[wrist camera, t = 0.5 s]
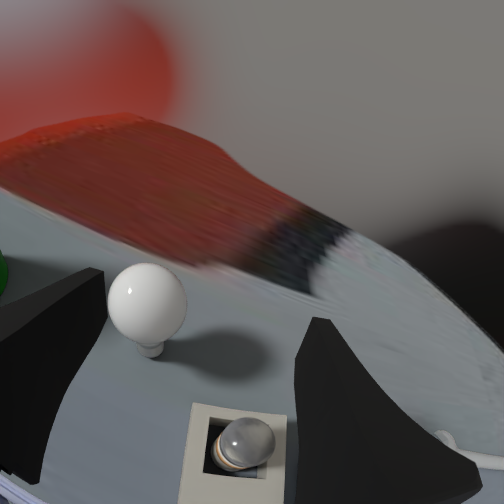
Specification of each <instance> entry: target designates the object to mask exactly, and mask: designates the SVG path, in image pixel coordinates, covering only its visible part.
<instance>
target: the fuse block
mask: <svg viewBox="0 0 504 504" xmlns="http://www.w3.org/2000/svg"><path fill="white" fill-rule="evenodd" d="M243 417H252V418H256V419H259V420H261V421H263V422H264V423H266V424H267V425H268V426H269V427H270V428H271V430H272V431H273V433H274V436H275V440H276V445H275V450H274V452H273V454H272V456H271V457H270V458H269V459H268V460H267V461H266V462H264V463H262V464H260V465H258V469H257V479H253V478H240V477H230V476H221V475H213V474H206V473H203V465H204V457H205V449H206V441H207V434H208V426H209V425H215V426H221V427H227V426H228V425H229V424H230V423H231V422H233V421H234V420H236V419H239V418H243ZM286 426H287V415H276V414H266V413H257V412H249V411H242V410H235V409H228V408H222V407H216V406H210V405H205V404H199V403H194V402H193V405H192V409H191V414H190V420H189V426H188V432H187V439H186V445H185V452H184V459H183V466H182V473H181V480H180V487H179V494H178V502H177V504H283V501H284V481H285V458H286Z"/></svg>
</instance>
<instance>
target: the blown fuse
mask: <svg viewBox="0 0 504 504" xmlns="http://www.w3.org/2000/svg"><path fill="white" fill-rule="evenodd" d="M275 445H276V440H275V436H274V433H273V431H272V430H271V428H270V427H269V426H268V425H267V424H266V423H264V422H263V421H261V420H259V419H256V418H252V417H243V418H239V419H236V420H234V421H233V422H231V423H230V424H229V425H228V426H227V427H226V428H225V429H224V431H223V432H222V433H221V434H220V436H219V437H217V438H216V439H215V441H214V442H213V443H212V445H211V447H210V457H211V460H212V462H213V463H214V464H215V465H216V466H217V467H218V468H220V469H221V470H224V471H228V472H235V471H239V470H242V469H245V468H249V467H254V466H257V465H260V464H262V463H264V462H266V461H267V460H268V459H269V458H270V457H271V456H272V454H273V452H274V450H275Z"/></svg>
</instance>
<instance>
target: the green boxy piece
mask: <svg viewBox="0 0 504 504" xmlns="http://www.w3.org/2000/svg"><path fill="white" fill-rule="evenodd" d="M7 279H8V267H7V264H6V262H5V259H4V257H3V255H2V253H1V250H0V296H1V294H2V292H3V290H4V288H5V286H6V283H7Z"/></svg>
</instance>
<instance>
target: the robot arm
mask: <svg viewBox="0 0 504 504" xmlns="http://www.w3.org/2000/svg"><path fill="white" fill-rule="evenodd" d="M107 318H108V314H107V305H106V294H105V282H104V271H101V270H97V269H94V268H90V267H89V268H86V269H84V270H81V271H79V272H77V273H75V274H72V275H70V276H68V277H66V278H64V279H62V280H60V281H58V282H56V283H54V284H52V285H50V286H48V287H46V288H44V289H42V290H40V291H37V292H35V293H33V294H31V295H28V296H26V297H24V298H22V299H20V300H18V301H15V302H13V303H10V304H8V305H5V306H2V307H0V471H1V470H3V471H4V472H6V473H7V474H9V475H11V474H12V473H13V474H14V475H16V476H18V477H19V478H21V479H22V480H24V481H25V482H27V483H29V484H30V485H34V484H37V483H39V481H40V474H41V468H42V463H43V458H44V453H45V450H46V446H47V442H48V438H49V435H50V432H51V429H52V426H53V423H54V420H55V417H56V414H57V412H58V409H59V407H60V404H61V402H62V399H63V397H64V395H65V393H66V391H67V389H68V387H69V385H70V383H71V381H72V380H73V378H74V376H75V375H76V373H77V371H78V370H79V368H80V367H81V365H82V363H83V362H84V360H85V359H86V357H87V355H88V354H89V352H90V351H91V349H92V347H93V346H94V344H95V342H96V341H97V339H98V337H99V335H100V333H101V331H102V329H103V326H104V324H105V322H106V320H107ZM294 390H295V402H296V413H297V424H298V436H299V462H298V478H297V490H296V499H295V504H461V503H462V502H464V501H466V500H468V499H469V498H471V497H472V496H474V495H475V494H476V493H478V492H479V491H480V490H481V488H482V487H483V485H482V481H481V478H480V475H479V471H478V468H477V465H476V463H475V462H474V461H472V460H470V459H469V458H467V457H465V456H463V455H461V454H460V453H458V452H456V451H454V450H453V449H451V448H449V447H448V446H446V445H445V444H443V443H442V442H440V441H439V440H438V439H436V438H435V437H433V436H432V435H431V434H429V433H428V432H427V431H425V430H424V429H423V428H422V427H421V426H419V425H418V424H417V423H416V422H415V421H414V420H412V419H411V418H410V417H409V416H408V415H407V414H406V413H405V412H404V411H402V410H401V409H400V408H399V407H398V406H397V405H396V403H395V402H394V401H393V400H392V399H391V398H390V397H389V396H388V395H387V394H386V393H385V392H384V391H383V390H382V389H381V387H380V386H379V385H378V384H377V383H376V381H375V380H374V379H373V378H372V377H371V375H370V374H369V373H368V372H367V370H366V369H365V368H364V366H363V365H362V364H361V362H360V361H359V360H358V358H357V357H356V356H355V354H354V353H353V351H352V350H351V349H350V347H349V346H348V344H347V343H346V341H345V340H344V339H343V337H342V336H341V334H340V333H339V331H338V330H337V329H336V327H335V326H334V324H333V323H332V322H331V320H330V319H324V318H318V317H312V320H311V322H310V325H309V327H308V329H307V332H306V334H305V337H304V339H303V341H302V344H301V346H300V349H299V351H298V353H297V356H296V358H295V371H294ZM7 499H8V500H9V501H11V502H12V503H14V504H48V503H46V502H44V501H42V500H41V499H39V498H37V497H35V496H34V495H32V494H30V493H29V492H27V491H26V490H24V489H22V488H21V487H19V486H18V485H16V484H15V483H13V482H12V481H10V480H9V479H7V478H6V477H4V476H3V475H2V474H0V504H9V502H8V500H7Z"/></svg>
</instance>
